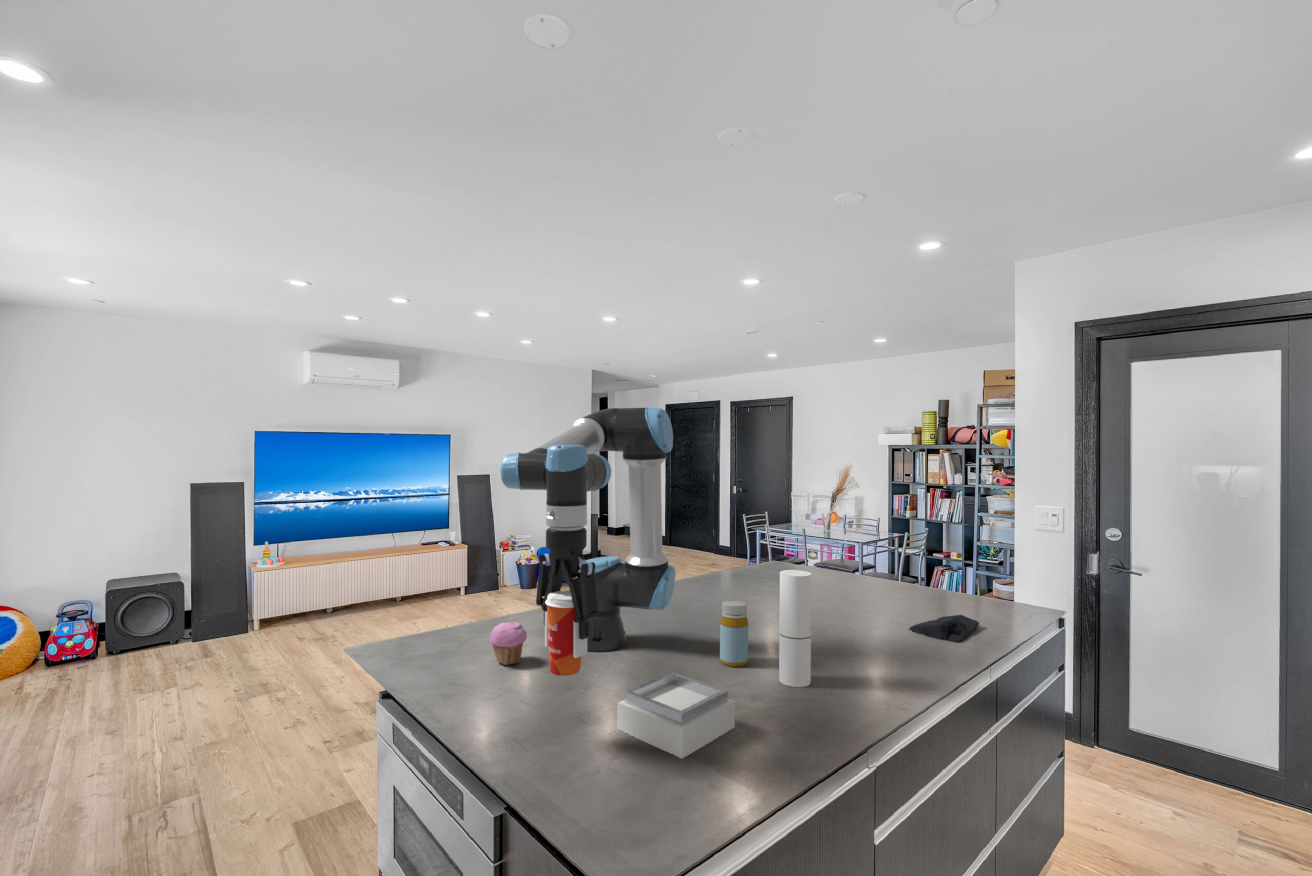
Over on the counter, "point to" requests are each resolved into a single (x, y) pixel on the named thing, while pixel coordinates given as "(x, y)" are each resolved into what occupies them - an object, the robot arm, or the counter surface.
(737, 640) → the bottle
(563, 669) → the paper cup
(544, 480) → the robot arm
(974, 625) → the crumpled black cloth
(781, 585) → the cylindrical container
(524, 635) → the cupcake
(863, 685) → the counter surface
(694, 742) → the square tray
